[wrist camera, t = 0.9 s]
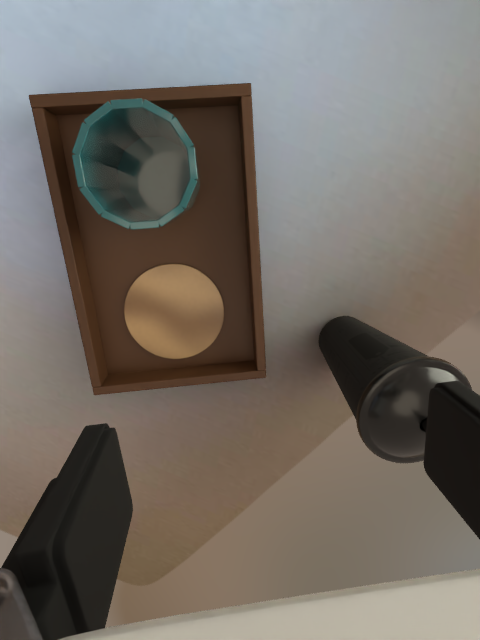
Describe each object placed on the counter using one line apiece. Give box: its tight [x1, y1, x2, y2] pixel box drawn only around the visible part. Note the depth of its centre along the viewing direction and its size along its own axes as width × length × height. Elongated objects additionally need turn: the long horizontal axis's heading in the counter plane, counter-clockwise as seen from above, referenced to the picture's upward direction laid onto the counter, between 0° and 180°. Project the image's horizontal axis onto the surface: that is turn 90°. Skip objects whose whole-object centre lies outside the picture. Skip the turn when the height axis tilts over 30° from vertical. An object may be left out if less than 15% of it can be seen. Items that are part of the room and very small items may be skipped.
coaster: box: [124, 264, 224, 359], centre depth 33 cm, size 9×9×1 cm
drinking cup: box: [319, 316, 472, 463], centre depth 27 cm, size 8×8×20 cm
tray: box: [29, 83, 266, 395], centre depth 31 cm, size 24×16×3 cm, turn 4°
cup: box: [72, 98, 200, 230], centre depth 25 cm, size 7×7×10 cm
